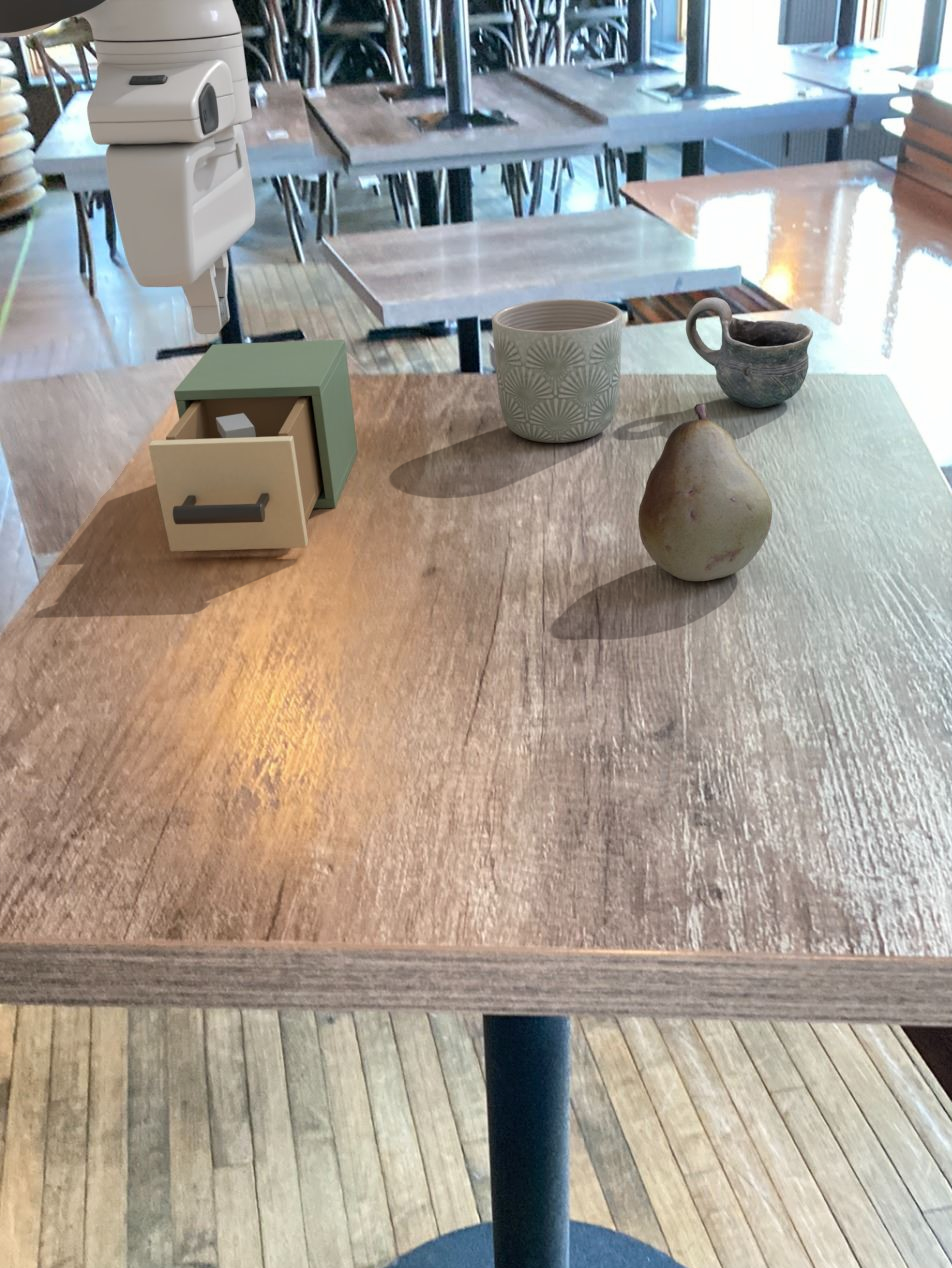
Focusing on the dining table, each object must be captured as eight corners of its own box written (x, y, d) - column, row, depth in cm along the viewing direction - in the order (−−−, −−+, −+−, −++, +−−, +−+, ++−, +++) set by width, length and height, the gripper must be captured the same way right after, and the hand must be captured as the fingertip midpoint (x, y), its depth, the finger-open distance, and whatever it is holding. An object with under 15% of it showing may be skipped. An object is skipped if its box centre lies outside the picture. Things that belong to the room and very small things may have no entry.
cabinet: (335, 508, 118) (319, 385, 112) (197, 512, 119) (173, 391, 113) (358, 452, 130) (344, 339, 123) (231, 456, 131) (212, 344, 124)
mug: (812, 415, 132) (821, 308, 126) (685, 419, 133) (689, 313, 127) (801, 387, 140) (810, 284, 134) (682, 390, 141) (685, 289, 135)
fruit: (718, 536, 109) (725, 386, 102) (795, 573, 102) (809, 415, 95) (616, 567, 105) (616, 413, 98) (690, 608, 98) (696, 446, 91)
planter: (642, 439, 129) (643, 320, 122) (522, 459, 126) (517, 338, 119) (593, 404, 138) (592, 292, 132) (481, 422, 135) (474, 309, 129)
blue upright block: (240, 521, 111) (225, 431, 107) (231, 505, 114) (215, 417, 110) (268, 515, 112) (254, 426, 107) (258, 500, 115) (243, 413, 110)
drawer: (297, 568, 106) (280, 458, 100) (157, 572, 106) (133, 463, 101) (331, 489, 120) (318, 388, 114) (207, 492, 120) (188, 393, 115)
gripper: (169, 75, 90) (203, 293, 98) (76, 114, 74) (126, 371, 82) (260, 72, 90) (287, 291, 98) (187, 111, 73) (226, 369, 82)
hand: (213, 328), depth 90 cm, fingers closed
